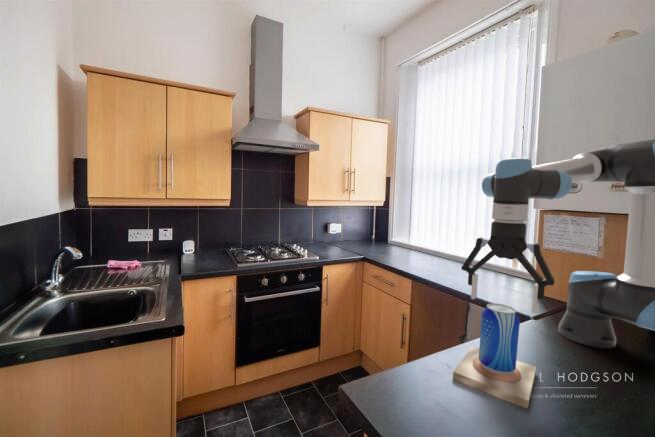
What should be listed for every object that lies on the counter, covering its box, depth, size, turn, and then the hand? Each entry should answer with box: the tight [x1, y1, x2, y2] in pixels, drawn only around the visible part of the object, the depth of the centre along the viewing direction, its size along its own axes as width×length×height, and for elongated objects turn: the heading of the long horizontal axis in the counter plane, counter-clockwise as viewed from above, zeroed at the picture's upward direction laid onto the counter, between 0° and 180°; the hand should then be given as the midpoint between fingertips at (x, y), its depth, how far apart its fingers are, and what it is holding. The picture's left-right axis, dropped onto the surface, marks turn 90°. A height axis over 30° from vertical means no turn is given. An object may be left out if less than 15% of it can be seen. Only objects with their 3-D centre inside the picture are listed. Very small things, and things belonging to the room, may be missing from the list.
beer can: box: [478, 302, 521, 375], centre depth 78 cm, size 8×8×16 cm
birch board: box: [452, 345, 537, 410], centre depth 79 cm, size 16×18×2 cm
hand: (502, 304), depth 78 cm, fingers open, 13 cm apart
